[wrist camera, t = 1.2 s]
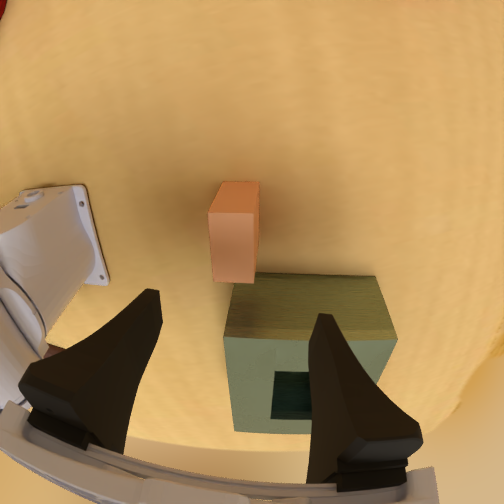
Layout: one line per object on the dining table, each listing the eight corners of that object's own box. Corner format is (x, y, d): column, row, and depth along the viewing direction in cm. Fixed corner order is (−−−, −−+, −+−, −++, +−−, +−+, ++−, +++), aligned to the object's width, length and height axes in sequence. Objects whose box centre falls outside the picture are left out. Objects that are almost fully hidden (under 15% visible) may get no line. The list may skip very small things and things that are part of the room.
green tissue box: (236, 271, 24) (223, 336, 18) (375, 276, 23) (397, 339, 17) (241, 376, 31) (234, 431, 26) (342, 378, 31) (348, 432, 25)
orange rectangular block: (223, 181, 20) (207, 212, 16) (259, 181, 20) (253, 213, 16) (226, 239, 23) (213, 281, 18) (258, 240, 22) (253, 283, 18)
